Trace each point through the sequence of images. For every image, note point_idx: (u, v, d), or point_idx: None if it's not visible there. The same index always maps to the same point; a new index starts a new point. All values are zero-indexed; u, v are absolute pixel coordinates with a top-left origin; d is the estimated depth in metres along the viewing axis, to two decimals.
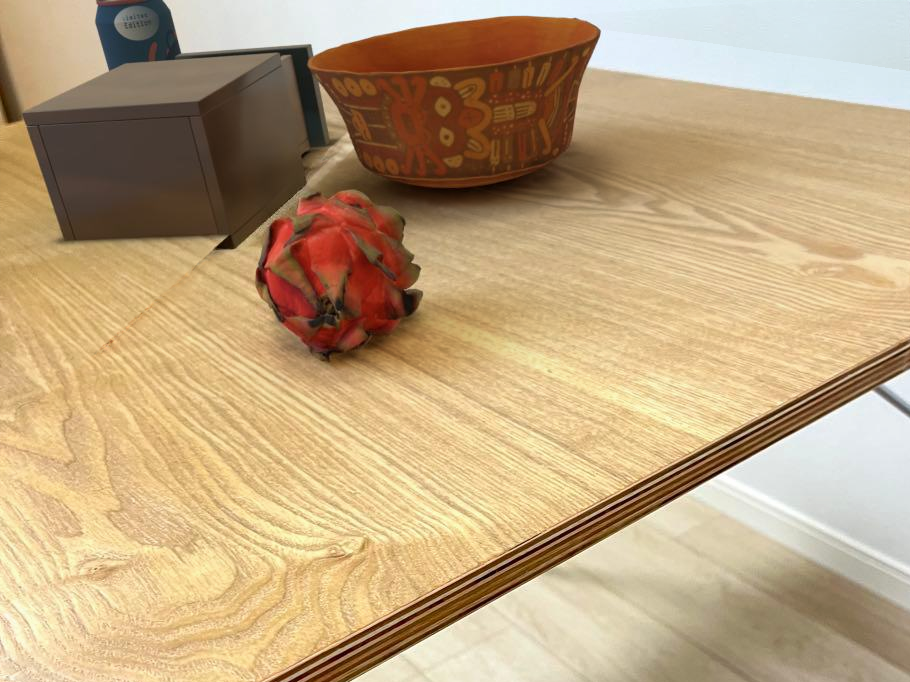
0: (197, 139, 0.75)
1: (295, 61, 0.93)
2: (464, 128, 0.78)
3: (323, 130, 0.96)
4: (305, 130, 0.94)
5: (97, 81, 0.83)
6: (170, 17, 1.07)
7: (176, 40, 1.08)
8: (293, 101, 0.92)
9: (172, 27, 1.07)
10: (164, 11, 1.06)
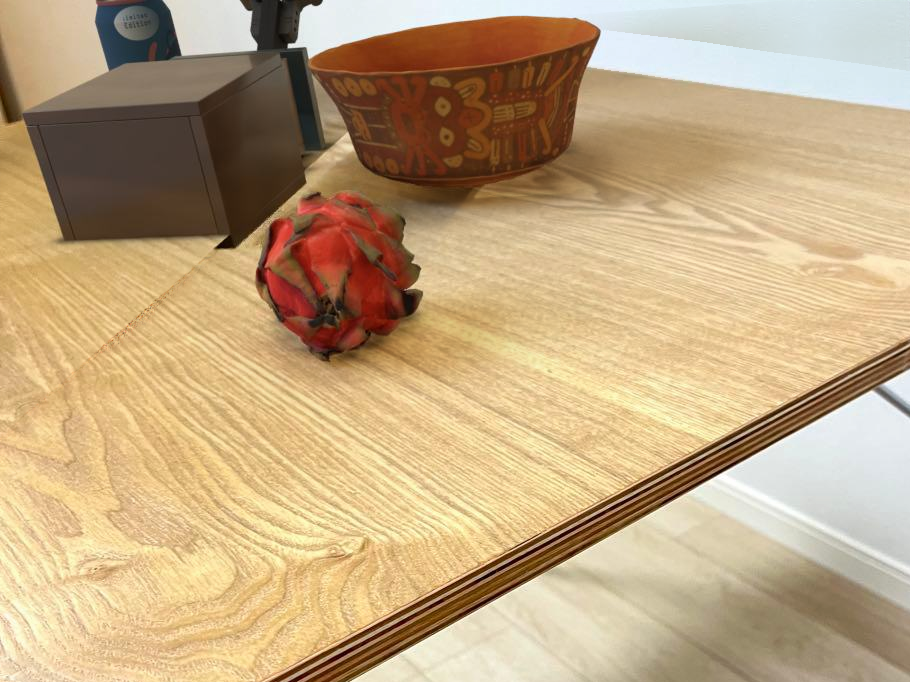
0: (197, 139, 0.75)
1: (290, 64, 0.92)
2: (464, 128, 0.78)
3: (319, 134, 0.95)
4: (300, 134, 0.93)
5: (97, 81, 0.83)
6: (170, 17, 1.07)
7: (176, 40, 1.08)
8: None
9: (172, 27, 1.07)
10: (164, 11, 1.06)
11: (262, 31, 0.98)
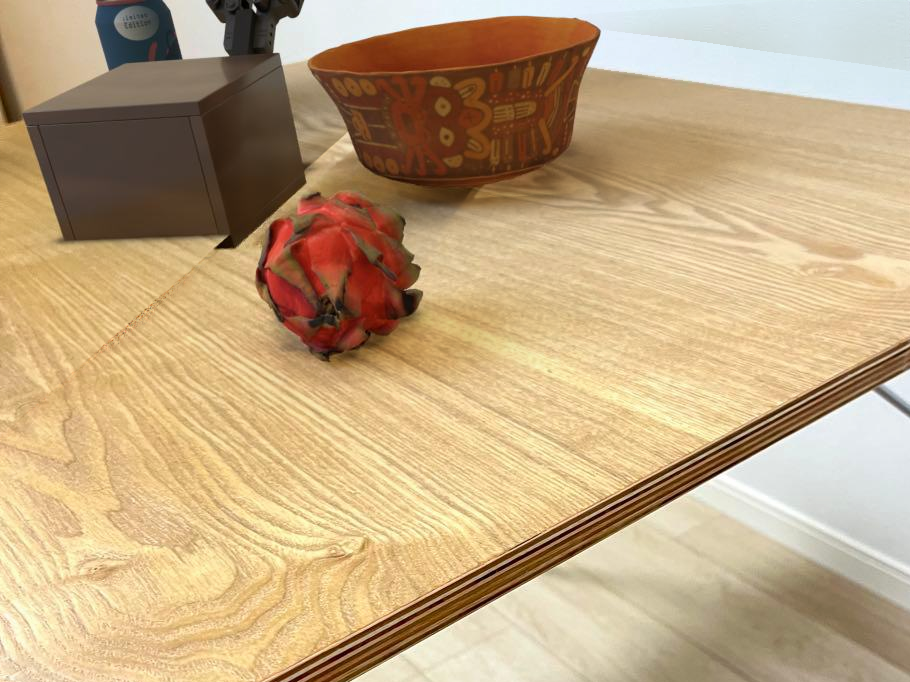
0: (197, 139, 0.75)
1: None
2: (464, 128, 0.78)
3: None
4: None
5: (97, 81, 0.83)
6: (170, 17, 1.07)
7: (176, 40, 1.08)
8: None
9: (172, 27, 1.07)
10: (164, 11, 1.06)
11: (235, 45, 0.93)
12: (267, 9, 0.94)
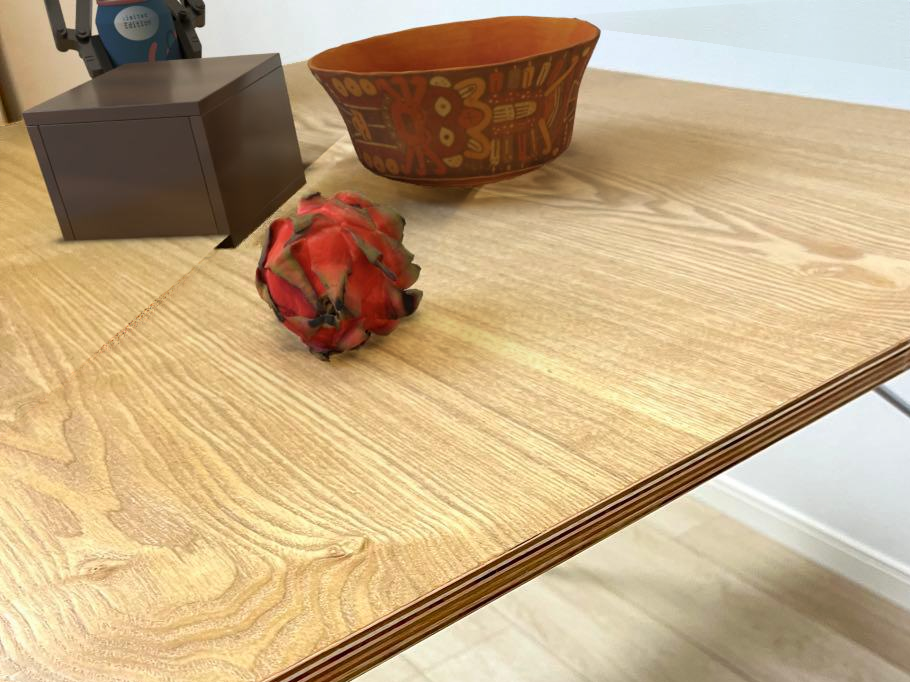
0: (197, 139, 0.75)
1: None
2: (464, 128, 0.78)
3: None
4: None
5: (97, 81, 0.83)
6: (170, 17, 1.07)
7: (176, 40, 1.08)
8: None
9: (172, 27, 1.07)
10: (164, 11, 1.06)
11: (106, 64, 1.05)
12: (189, 18, 1.10)
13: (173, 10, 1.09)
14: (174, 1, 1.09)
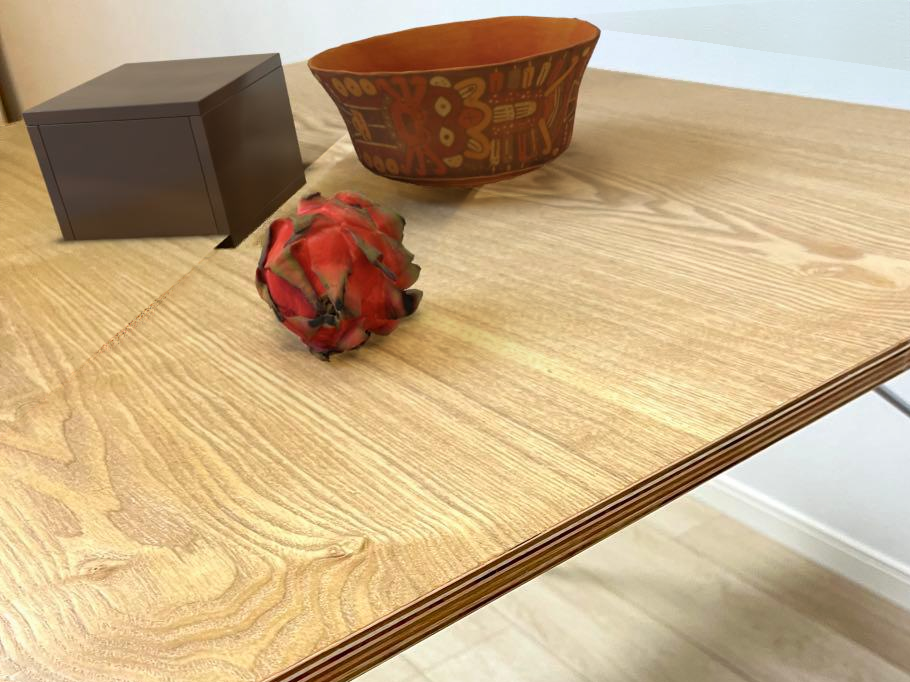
0: (197, 139, 0.75)
1: None
2: (464, 128, 0.78)
3: None
4: None
5: (97, 81, 0.83)
6: None
7: None
8: None
9: None
10: None
11: None
12: None
13: None
14: None
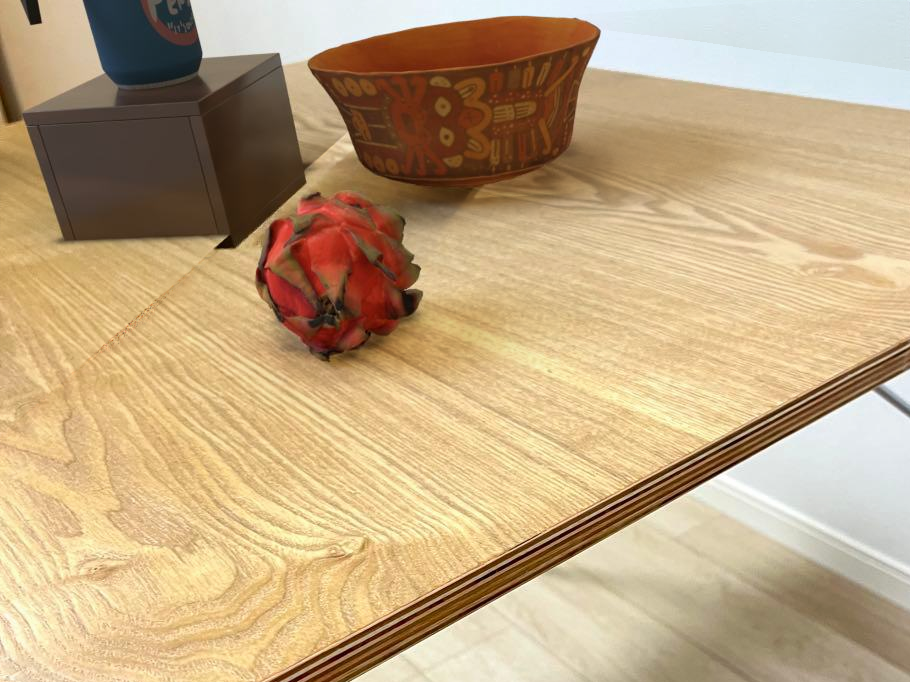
0: (197, 139, 0.75)
1: None
2: (464, 128, 0.78)
3: None
4: None
5: (97, 81, 0.83)
6: None
7: None
8: None
9: None
10: None
11: None
12: None
13: None
14: None
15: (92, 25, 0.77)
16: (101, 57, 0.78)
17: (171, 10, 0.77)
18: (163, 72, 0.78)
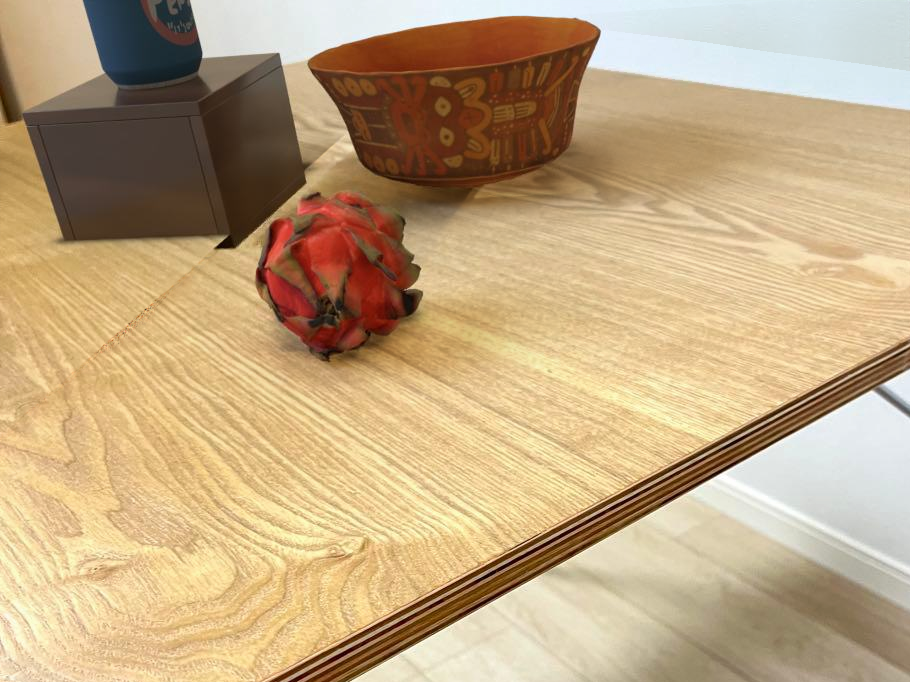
0: (197, 139, 0.75)
1: None
2: (464, 128, 0.78)
3: None
4: None
5: (97, 81, 0.83)
6: None
7: None
8: None
9: None
10: None
11: None
12: None
13: None
14: None
15: (92, 25, 0.77)
16: (101, 57, 0.78)
17: (172, 10, 0.77)
18: (163, 72, 0.78)
